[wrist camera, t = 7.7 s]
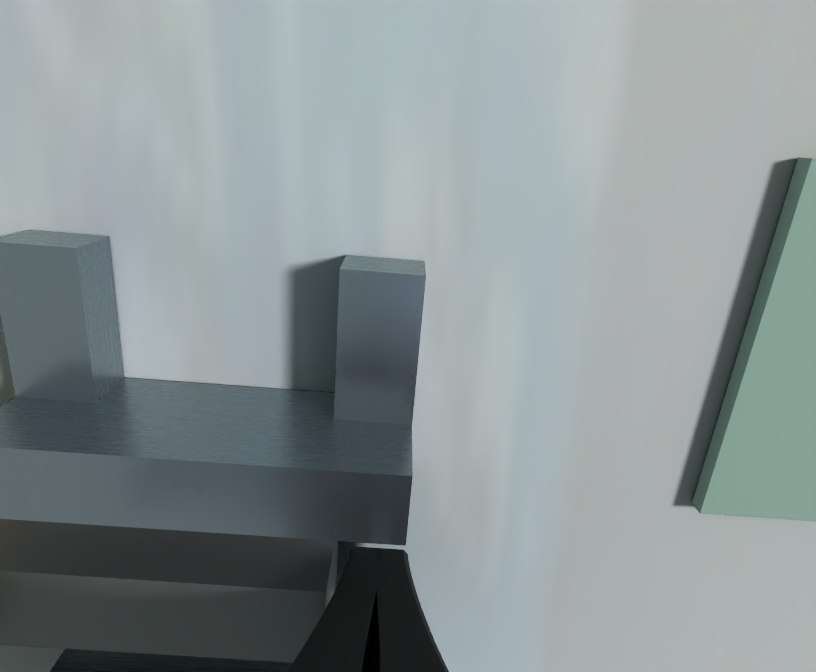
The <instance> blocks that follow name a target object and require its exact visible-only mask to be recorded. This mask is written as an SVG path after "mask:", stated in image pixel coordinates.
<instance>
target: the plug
mask: <svg viewBox="0 0 816 672" xmlns="http://www.w3.org/2000/svg"><path fill="white" fill-rule="evenodd" d="M338 546H339V541H332V540H317V539H301V538H286V537H271V536H256V535H241V534H225V533H210V532H195V531H180V530H165V529H149V528H134V527H119V526H104V525H89V524H74V523H58V522H43V521H28V520H13V519H0V644H1V645H17V646H34V647H50V648H66V649H82V650H98V651H114V652H130V653H147V654H163V655H179V656H195V657H211V658H227V659H244V660H260V661H276V662H292V663H293V662H294V660H295V659H296V657H297V656H298V654H299V653H300V651H301V649H302V648H303V646H304V645H305V643H306V641H307V640H308V638H309V636H310V635H311V633H312V632H313V630H314V628H315V627H316V625H317V623H318V622H319V620H320V618H321V616H322V615H323V613H324V611H325V609H326V607H327V605H328V603H329V601H330V599H331V597H332V596H333V594H334V592H335V586H336V580H337V566H338Z"/></svg>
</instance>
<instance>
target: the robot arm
mask: <svg viewBox="0 0 816 672" xmlns="http://www.w3.org/2000/svg"><path fill="white" fill-rule="evenodd" d="M287 672H449V671H448V669H447V667H446V665H445V663H444V661H443V659H442V657H441V654H440V652H439V650H438V648H437V646H436V643H435V641H434V639H433V636H432V634H431V632H430V629H429V626H428V624H427V621H426V619H425V616H424V613H423V611H422V608H421V605H420V602H419V599H418V596H417V593H416V590H415V587H414V583H413V579H412V576H411V572H410V567H409V562H408V554H407V553H406V552H405V551H404V550H398V549H382V548H367V547H354V548H353V549H352V550H350V554H349V558H348V561H347V564H346V566H345V569H344V572H343V574H342V576H341V579H340V581H339V583H338V585H337V587H336V590H335V592H334V594H333V596H332V597H331V599H330V601H329V603H328V605H327V607H326V609H325V611H324V613H323V615H322V616H321V618H320V620H319V622H318V623H317V625H316V627H315V628H314V630H313V632H312V633H311V635H310V636H309V638H308V640H307V641H306V643H305V645H304V646H303V648H302V649H301V651H300V653H299V654H298V656H297V657H296V659H295V660H294V662H293V663H292V664H291V666H290V667H289V669H288V670H287Z"/></svg>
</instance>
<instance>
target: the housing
mask: <svg viewBox="0 0 816 672" xmlns="http://www.w3.org/2000/svg"><path fill="white" fill-rule="evenodd" d="M425 279H426V273H425V264H424V261H415V260H402V259H390V258H377V257H365V256H352V255H346V257H345V259H344V261H343V263H342V265H341V267H340V269H339V294H338V320H337V346H336V372H335V393H328V392H314V391H300V390H287V389H273V388H259V387H246V386H232V385H218V384H204V383H191V382H177V381H163V380H149V379H136V378H124V372H123V362H122V353H121V343H120V334H119V324H118V315H117V305H116V296H115V286H114V277H113V267H112V258H111V248H110V239H109V236H100V235H87V234H75V233H62V232H50V231H37V230H27V231H23V232H19V233H15V234H12V235H8V236H4V237H0V315H1V321H2V326H3V332H4V337H5V343H6V348H7V354H8V359H9V365H10V370H11V376H12V381H13V387H14V392H15V397H14V398H13V399H11V400H10V401H8V402H7V403H5V404H4V405H2V406H1V407H0V519H13V520H28V521H43V522H58V523H74V524H89V525H104V526H119V527H134V528H149V529H165V530H180V531H195V532H210V533H225V534H241V535H256V536H271V537H286V538H301V539H317V540H332V541H347V542H362V543H377V544H393V545H406V536H407V526H408V515H409V505H410V495H411V484H412V418H413V407H414V396H415V386H416V375H417V364H418V354H419V343H420V332H421V321H422V311H423V300H424V289H425ZM291 664H292V662H276V661H260V660H244V659H227V658H211V657H195V656H179V655H163V654H147V653H130V652H114V651H98V650H82V649H66V648H65V650H64V651H63V653H62V654H61V656H60V657H59V659H58V660H57V662H56V663H55V665H54V666H53V668H52V669H51V671H50V672H287V670H288V669H289V667H290V666H291Z"/></svg>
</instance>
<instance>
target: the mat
mask: <svg viewBox="0 0 816 672" xmlns="http://www.w3.org/2000/svg"><path fill="white" fill-rule="evenodd" d="M692 504H693V505H694V506H695V507H696V509H697V510H698V511H699V513H701V514H715V515H730V516H745V517H759V518H774V519H788V520H803V521H816V159H810V158H798V160H797V163H796V166H795V169H794V173H793V176H792V179H791V182H790V186H789V189H788V192H787V195H786V199H785V202H784V205H783V208H782V212H781V215H780V218H779V221H778V225H777V228H776V231H775V234H774V238H773V241H772V244H771V247H770V251H769V254H768V257H767V260H766V264H765V267H764V270H763V273H762V277H761V280H760V283H759V286H758V290H757V293H756V296H755V299H754V303H753V306H752V309H751V312H750V316H749V319H748V322H747V325H746V329H745V332H744V335H743V338H742V342H741V345H740V348H739V351H738V355H737V358H736V361H735V364H734V368H733V371H732V374H731V377H730V381H729V384H728V387H727V390H726V394H725V397H724V400H723V404H722V407H721V410H720V413H719V417H718V420H717V423H716V426H715V430H714V433H713V436H712V439H711V443H710V446H709V449H708V452H707V456H706V459H705V462H704V465H703V469H702V472H701V475H700V478H699V482H698V485H697V488H696V491H695V495H694V498H693V501H692Z"/></svg>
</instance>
